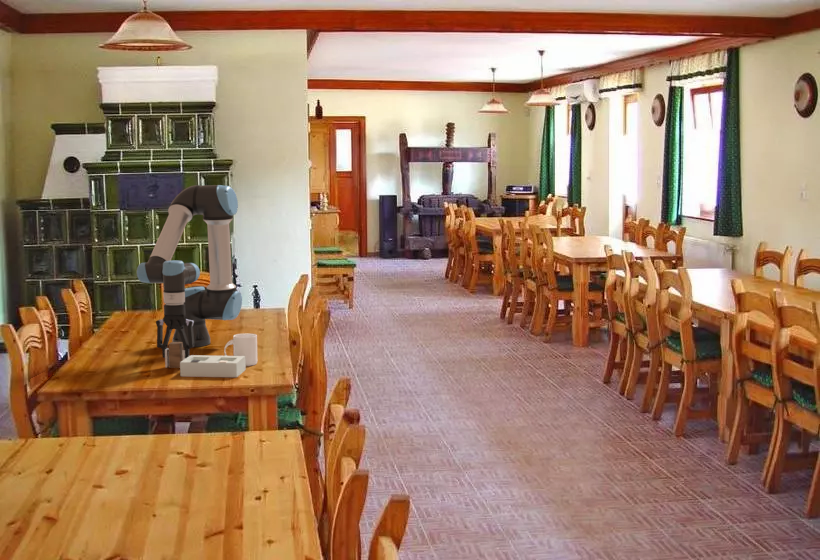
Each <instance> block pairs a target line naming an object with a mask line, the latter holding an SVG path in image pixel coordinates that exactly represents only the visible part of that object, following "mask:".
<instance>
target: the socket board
mask: <svg viewBox="0 0 820 560" xmlns="http://www.w3.org/2000/svg"><path fill="white" fill-rule="evenodd" d="M189 355H190V354H189ZM246 367H247V366H245V356H234V355H227V356H225V355H207V354H206V355H204V354H203V355H199V354H198V355H197V354H195V355H194V354H191V355H190V356H189V357H187V358H186V359H184V360H183V361H181V362H180V369H179V371H180V375H179V376H180V377H192V378H193V377H194V378H196V377H197V378H198V377H199V378H205V377H206V378H238V377H239V376H240V375H242V373H244V372H245V371H246V369H247V368H246Z"/></svg>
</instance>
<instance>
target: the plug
mask: <svg viewBox="0 0 820 560" xmlns="http://www.w3.org/2000/svg"><path fill="white" fill-rule="evenodd" d="M168 348H169V367H168V369H169V368H180V362H181V361H183V354H182V350H183V349H184V347H183V343H182V342H169V343H168Z"/></svg>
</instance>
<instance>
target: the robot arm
mask: <svg viewBox="0 0 820 560" xmlns="http://www.w3.org/2000/svg"><path fill="white" fill-rule="evenodd" d="M238 201H239V200H238V197H237V194H236V192H235V190H234V188H232V187H231V186H229V185H221V184H217V185H216V184H213V185H211V184H210V185H208V184H207V185H204V184H203V185H199V184H195V185H191V186H187V188H185V189H183V190H182V191H180V192H179V193H177V195H176V196H175V197H174V198H173V200H172V201H171V203H170V205H169V207H168V209H167V212H168V216H167V217H166V220H165V223H164V224H163V227H162V230H161V231H160V234H159V236H158V238H157V241H156V243H155V245H154V247H153V250H152V252H151V254H150V255H149V258H148V260H147V262H141V263H139V264H138V266H137V267H136V276H137V279H138V281H139V282H141V283H144V284H145V283H146V284H163V286H162V287H163V290H162V291H163V292H162V293H163V303H164V305H163V318H161V319H158V320H156V321H155V324H156V327H157V329H156V336H157V337H156V347H157V348H159V349H161V352H162V358H163V359H164V363H165V367H164V368H169V343H170V339H171V335H172V331H173V330H174V332H173V336H172V340H171V341H172V342H182V343H183V350H182V354H183V360H184V359H186V358H187V357H189V356H190V349H192V348H196V347H197V348H199V347H205V346H208V345H210V344H211V336H210V334H209V330H208V328H207V325H206V320H214V321H215V320H217V321H218V320H220V321H232V320H233V321H234V320H235V319H236V318H238V316H239V314H240V312H241V310H242V305H243V296H242V293H241V292H240V291H238V290H237V285H236V284H235V283H233V277H232V275H233V274H232V255H231V254H232V253H231V250H232V249H231V233H230V232H231V231H230V223H231V222H232V221H233V219H234V217H233V216H235V215H236V214H238V213H237V212H238V209H239V202H238ZM196 215H202V220H203V222H205V223H206V224H207V225H206V226H207V243H208V262H209V265H208V266H209V284H208V285H207V286H206V288H205V286H191V287H187V288H186V287H185V285H189V284H193V283H195V282H196V281H197V280H199V278H200V276H201V271H200V268H199V266H198V265H197V264H196V263H193V262H184V261H183V260H177V259H176V260H175V259H174V260H172V258H173V256H174V254H175V252H176V249H177V247H178V245H179V242H180V240H181V237H182V235H183V233H184V231H185V228H186V225H187V224H188V223H189V222H190V221H192V219H193V217H194V216H196ZM164 324H165V325H166V328H165V335H164V338H163V334H164V333H163V332H164V331H163V330H164V326H163V325H164Z"/></svg>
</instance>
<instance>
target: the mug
mask: <svg viewBox="0 0 820 560" xmlns="http://www.w3.org/2000/svg"><path fill="white" fill-rule="evenodd" d="M231 345H233V356H245V367H251V366H255V365H257V364H258V335H257V334H256V333H245V332H244V333H237V334H234V335H233V337H232V339H230V340H229V341H227V343H226V344H225V345H224V348H223V349H224V351H223V353H224V356H228V355H227V352H226V349H227V347H229V346H231Z"/></svg>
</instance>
